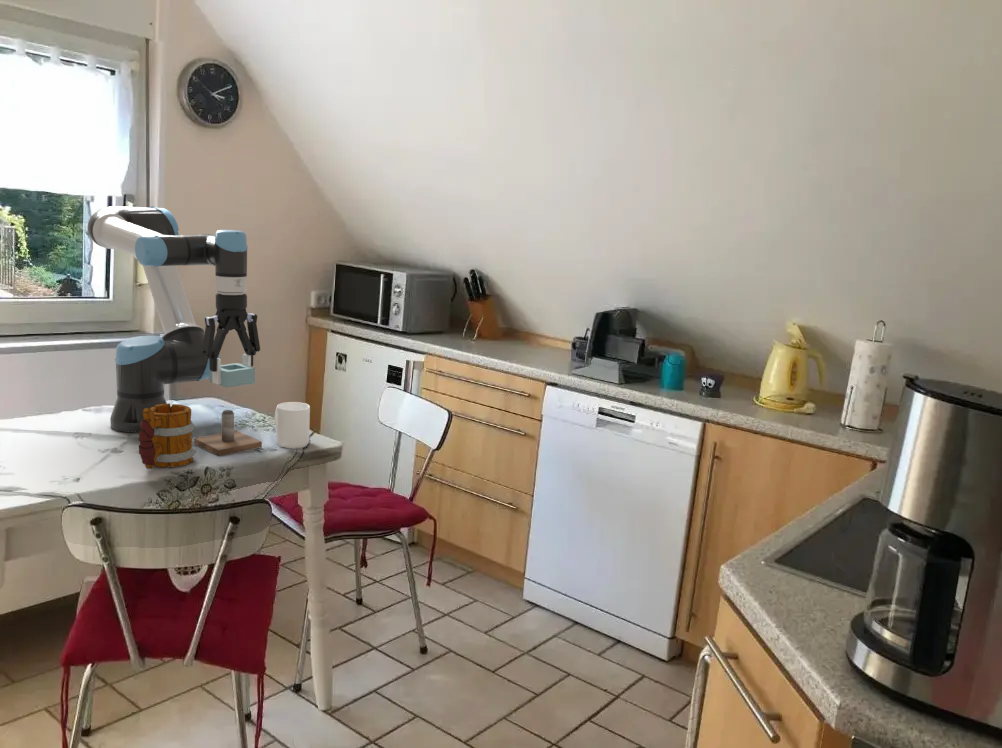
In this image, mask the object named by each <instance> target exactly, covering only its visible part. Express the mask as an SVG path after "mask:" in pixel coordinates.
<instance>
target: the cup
mask: <svg viewBox="0 0 1002 748" xmlns="http://www.w3.org/2000/svg"><path fill="white" fill-rule="evenodd" d="M310 413H311V406H310V405H309V404H308V403H306V402H299V401H288V402H281V403H278V404H277V405H276V408H275V412H274V417H273V418H274V419H273V420H274V427H275V429H276V436H275V437H276V444H277V445H278V446H279V447H281V448H285V449H299V448H300V447H301V448H304V447H306V446H308V445H307V444H309V442H310V427H311V426H310V421H311V420H310V419H311V418H310V417H311V416H310V415H311V414H310ZM303 446H304V447H303ZM301 448H300V449H301Z"/></svg>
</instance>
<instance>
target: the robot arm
mask: <svg viewBox="0 0 1002 748" xmlns="http://www.w3.org/2000/svg"><path fill="white" fill-rule="evenodd" d="M179 230H180V229H179V225H178V222H177V220H176V218H175V216H174V215H173V213H172V212H171V211H170V210H168V209H166V208H164V207H155V206H148V207H143V206H141V207H140V206H122V205H120V206H119V205H113V206H112V205H111V206H105V207H103V208H100V209H98V210H97V211H95V212H94V213H93V214H92V215H91V216H90V218H89V220H88V222H87V233H88V236H89V238H90V239H91V240H92V241H93V243H94V244H96V245H98V246H100V247H102V248H105V249H109V250H115V249H117V250H120V251H122V252H124V253H127V254H130V255H132V256H133V257H134V258H135V259H136V260H137V261H138V263H139V264H140V265H142V268H143V270H144V274H145V277H146V280H147V283H148V286H149V289H150V293H151V296H152V299H153V302H154V305H155V308H156V311H157V312H156V313H157V314H158V318H159V322H160V324H161V328H162V330H163V335H162V336H159V335H139V336H134V337H130V338H126V339H124V340H122V341H121V342H119V343H118V344H117V345H116V348H115V359H114V362H115V372H116V373H115V374H116V375H115V376H116V399H115V402H114V405H113V408H112V411H111V414H110V418H109V421H110V425H109V426H110V428H112V429H113V430H114V431H119V432H123V433H133V434H135V433H136V434H137V433H139V434H140V431H142V430H141V429H140V424H141V422H142V420H143V418H144V417H143V410H144V409H145V408H151V407H153V406H155V405H159V404H168V402H167V399H166V397H165V385H171V384H178V383H179V384H181V383H188V382H190V383H191V382H200V381H202V380H210V371H212V384H214V385H218V386H221V365H222V359H221V358H220V357H221V356H220V353H221V350H222V348H223V344H224V342H225V339H226V337H227V335H228V334H229V332H230V331H233V330H235V332H236V333H237V335H238V338H239V341H240V343H241V346H242V348H243V350H244V352H245V353H242V354H241V357H242V359H241V360H242V361H241V362H242V363H241V364H242V365H246V366H249V367H254V356H256V355H257V352H260V351H261V345H260V339H259V331H258V327H257V326H258V324H257V321H258V314H256V313H255V314H254V313H248V312H247V308H248V295H247V293H246V292H247V291H248V242H247V241H248V240H247V233H246V232H245V231H243V230H236V229H235V230H234V229H218V230H216V232H215V234H206V233H205V234H204V233H203V234H197V235H196V234H195V235H194V234H191V235H190V234H186V235H185V234H180V233H179ZM178 266H182V267H183V266H213V267H215V268H214V269H215V279H214V280H215V281H214V282H215V291H216V294H215V309H216V312H215V315H213V316H205V317H204V324H205V330H204V327H202V326H201V325H197V324H196V321H195V318H194V315H193V311H192V309H191V306H190V303H189V300H188V297H187V294H186V291H185V288H184V284H183V282H182V281H183V280H182V279H181V275H180V273H179V270H178ZM245 321H246V325H247V327H246V325H245ZM217 323H218V325H217ZM216 325H217V327H216ZM247 332H248V333H247ZM209 367H210V371H209Z"/></svg>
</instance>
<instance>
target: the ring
mask: <svg viewBox="0 0 1002 748" xmlns="http://www.w3.org/2000/svg"><path fill="white" fill-rule="evenodd" d="M209 371H210V367H209ZM209 383H212V371H210V378H209ZM212 384H213V383H212ZM252 384H256V367H254V366H252V367H249V366H246V365H242V363H238V362H235V363H228V364H221V385H220V386H221V387H225V388H227V389H228V388H234V387H240V386H241V387H242V386H246V385H252Z"/></svg>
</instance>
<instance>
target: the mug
mask: <svg viewBox="0 0 1002 748" xmlns="http://www.w3.org/2000/svg"><path fill="white" fill-rule="evenodd" d="M143 417H144V418H143V420H142V422H141V424H140V429H141V430H142V431H140V433H139V434H138V441H139V444H138V454H139V455H140V458H141V462H142V464H144V465H145V468H146V469H147V470H148V469H149V470H152V469H154V468H164V469H167V468H169V467H170V468H176V467H177V466H178V468H179V467H183V465H184V466H187V465H189V464H190V463H192V462H194V456H195V454H196V452H197V451H196V449H195V446H194V445H193V443H192V431H193V430H194V429H195V424H194V423H193V420H192V409H191V407H190V406H187V405H183V404H178V403H177V404H176V403H172V404H171V403H167V404H159V405H155V406H153V407H151V408H145V409H144V410H143Z"/></svg>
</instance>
